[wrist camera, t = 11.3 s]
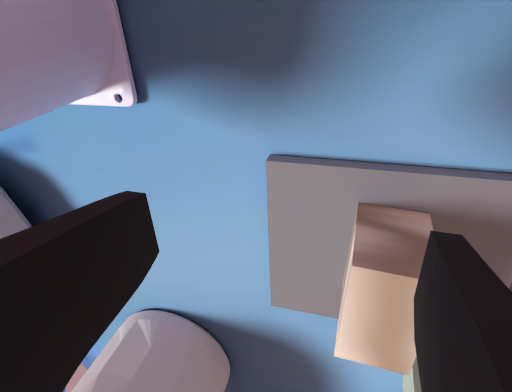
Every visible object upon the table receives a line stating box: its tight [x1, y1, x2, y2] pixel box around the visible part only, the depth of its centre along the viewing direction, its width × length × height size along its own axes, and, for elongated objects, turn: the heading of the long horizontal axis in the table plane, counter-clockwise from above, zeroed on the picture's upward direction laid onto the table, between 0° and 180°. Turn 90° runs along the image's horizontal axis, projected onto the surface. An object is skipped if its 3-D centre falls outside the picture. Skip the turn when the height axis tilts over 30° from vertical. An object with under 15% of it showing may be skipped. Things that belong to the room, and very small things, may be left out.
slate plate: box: [266, 155, 512, 319], centre depth 20 cm, size 13×11×1 cm
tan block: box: [334, 203, 433, 375], centre depth 18 cm, size 4×6×5 cm, turn 0°
